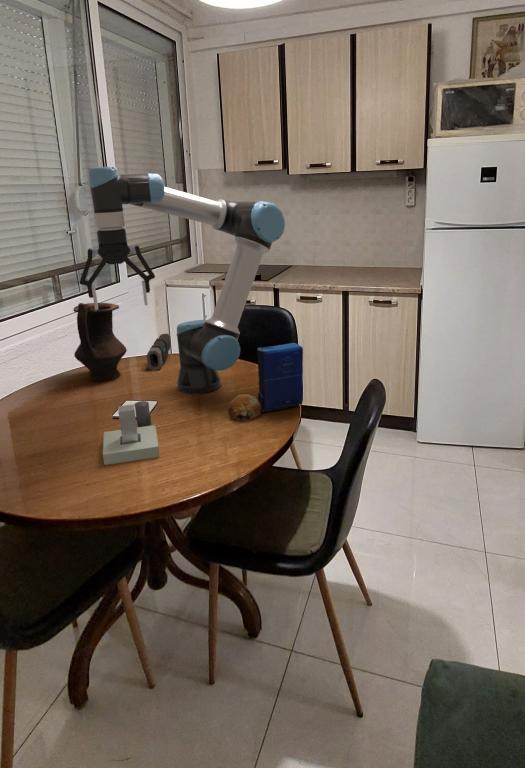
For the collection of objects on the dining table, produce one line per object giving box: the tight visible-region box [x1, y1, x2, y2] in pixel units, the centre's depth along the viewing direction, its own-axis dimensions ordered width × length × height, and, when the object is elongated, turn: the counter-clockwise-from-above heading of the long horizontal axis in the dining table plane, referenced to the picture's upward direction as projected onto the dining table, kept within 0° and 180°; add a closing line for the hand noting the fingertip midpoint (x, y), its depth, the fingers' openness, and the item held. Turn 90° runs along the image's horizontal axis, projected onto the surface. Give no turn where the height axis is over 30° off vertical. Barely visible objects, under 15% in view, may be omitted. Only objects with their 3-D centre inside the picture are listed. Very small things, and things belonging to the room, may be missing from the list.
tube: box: [146, 333, 172, 372], centre depth 224 cm, size 11×7×30 cm
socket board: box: [102, 424, 161, 466], centre depth 149 cm, size 14×14×3 cm
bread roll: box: [228, 393, 262, 422], centre depth 167 cm, size 10×10×8 cm
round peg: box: [134, 400, 152, 428], centre depth 160 cm, size 4×4×8 cm
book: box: [257, 342, 304, 413], centre depth 168 cm, size 14×5×20 cm, turn 114°
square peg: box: [117, 403, 139, 444], centre depth 147 cm, size 4×4×12 cm
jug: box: [73, 302, 128, 382], centre depth 201 cm, size 21×18×30 cm
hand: (121, 306), depth 156 cm, fingers open, 13 cm apart
